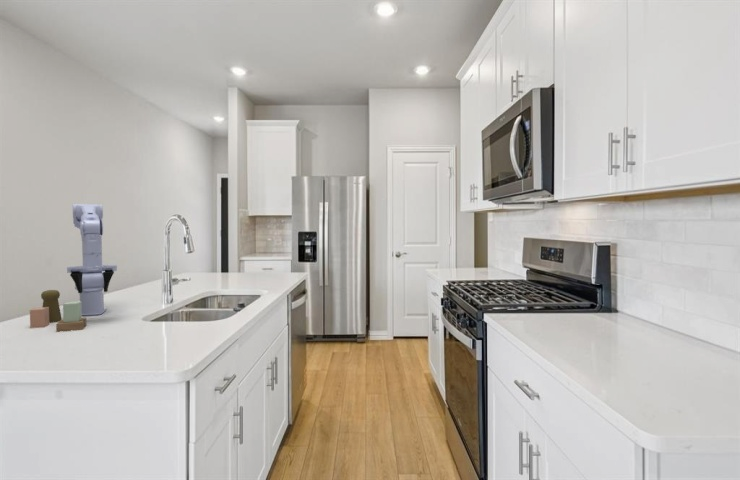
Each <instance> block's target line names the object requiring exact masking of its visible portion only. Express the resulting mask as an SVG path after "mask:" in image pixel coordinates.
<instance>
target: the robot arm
mask: <svg viewBox="0 0 740 480" xmlns="http://www.w3.org/2000/svg"><path fill="white" fill-rule="evenodd" d="M103 209H104V208H103V205H102V203H99V204H95V203H72V218H73V219H72V220H73V224H74V227H75V228H77V229H79V231H80V237H81V238H80V239H81V241H82V242H81V247H82V248H81V249H82V250H81V252H82V255H81V256H82V265H79V266H67V267H66V273H70V274H69V276H70V277H71V279H72V281H73V282H74V289H75V290H76V292H77V293H78V294H79V301H81V317H83V316H97V315H98V316H99V315H102V314H103V313H105V312H106V311H107V310H108V309H107V308H104V307H105V304H104V303H105V302H104V298H105V296H104V295H105V294H104V293H106V292H108V289H109V285H110V282H111V279H112V278H113V276H114V274H115V272H117V270H118V265H117V264H116V265H108V264H107V265H105V264H104V265H103V245H102V243H103V242H102V240H103V239H102V238H103V237H102V236H103V234H104V223H103V217H104V210H103Z"/></svg>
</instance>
